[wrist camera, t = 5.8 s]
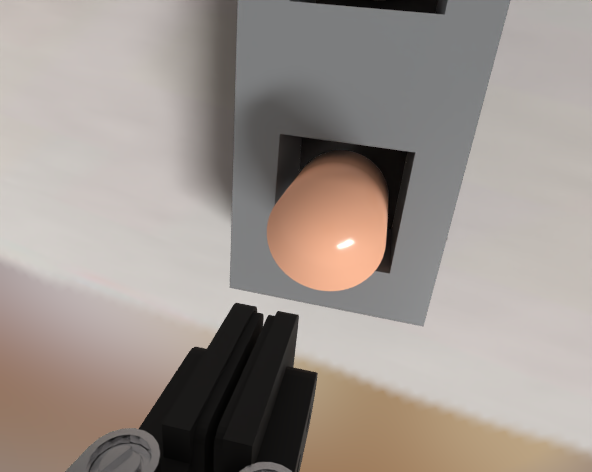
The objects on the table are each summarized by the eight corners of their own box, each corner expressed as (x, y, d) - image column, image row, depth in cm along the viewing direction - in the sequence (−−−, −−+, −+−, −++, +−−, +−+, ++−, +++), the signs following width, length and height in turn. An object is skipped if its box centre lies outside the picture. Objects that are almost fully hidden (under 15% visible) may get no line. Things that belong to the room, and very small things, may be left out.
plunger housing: (538, -215, 18) (596, -323, 13) (418, 273, 28) (423, 326, 23) (287, -216, 20) (246, -312, 14) (259, 244, 30) (229, 287, 25)
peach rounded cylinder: (397, 157, 21) (396, 191, 16) (379, 247, 23) (374, 301, 18) (299, 143, 22) (270, 172, 17) (290, 231, 24) (263, 279, 19)
